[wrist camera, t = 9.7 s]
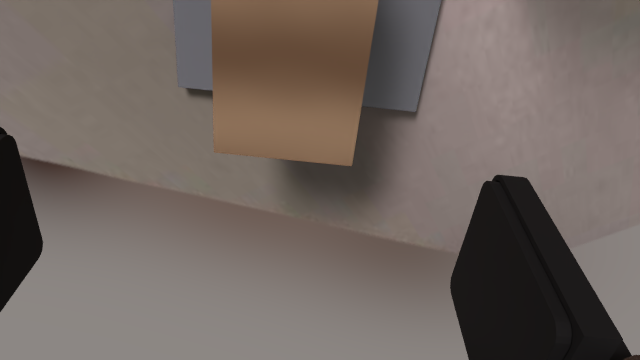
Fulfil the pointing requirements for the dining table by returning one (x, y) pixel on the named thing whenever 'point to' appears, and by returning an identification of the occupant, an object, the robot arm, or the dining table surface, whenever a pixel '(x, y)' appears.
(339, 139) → the footstool
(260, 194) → the dining table surface
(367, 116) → the dining table surface
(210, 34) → the mat
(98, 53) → the dining table surface
